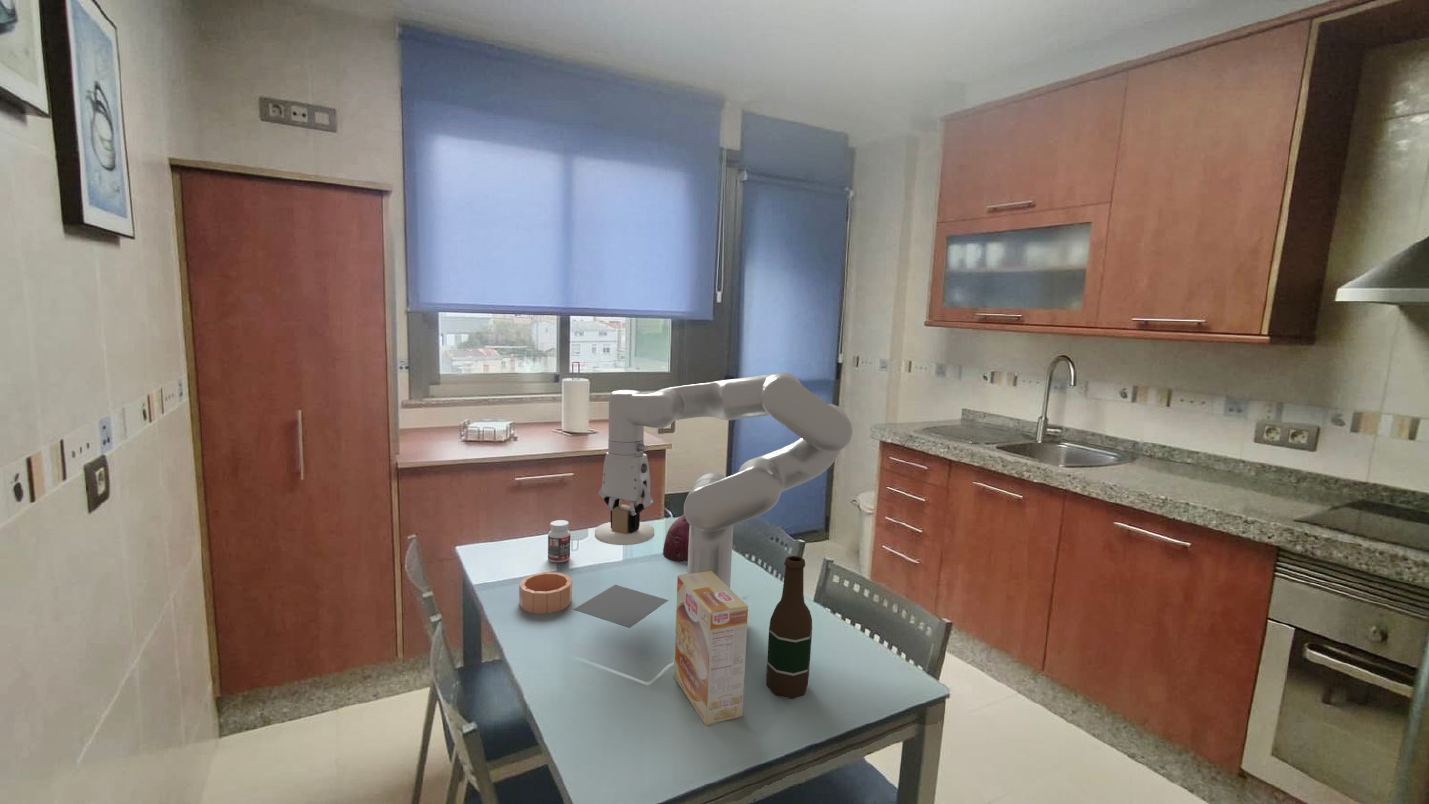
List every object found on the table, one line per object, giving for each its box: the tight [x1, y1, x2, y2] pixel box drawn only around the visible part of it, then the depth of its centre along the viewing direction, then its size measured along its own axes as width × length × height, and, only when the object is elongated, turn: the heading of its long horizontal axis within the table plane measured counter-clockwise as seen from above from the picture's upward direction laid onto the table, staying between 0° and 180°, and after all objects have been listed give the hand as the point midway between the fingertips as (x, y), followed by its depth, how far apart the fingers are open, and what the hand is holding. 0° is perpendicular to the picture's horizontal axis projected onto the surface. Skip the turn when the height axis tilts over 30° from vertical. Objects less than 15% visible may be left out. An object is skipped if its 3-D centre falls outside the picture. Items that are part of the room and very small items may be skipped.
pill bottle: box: [547, 519, 571, 564], centre depth 163 cm, size 6×6×10 cm
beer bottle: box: [765, 555, 813, 699], centre depth 109 cm, size 8×8×24 cm
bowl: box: [518, 571, 573, 615], centre depth 138 cm, size 11×11×5 cm
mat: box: [573, 584, 669, 629], centre depth 139 cm, size 15×15×1 cm
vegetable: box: [662, 513, 690, 563], centre depth 170 cm, size 10×10×15 cm
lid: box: [594, 504, 655, 546], centre depth 136 cm, size 13×13×6 cm
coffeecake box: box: [673, 571, 749, 726], centre depth 106 cm, size 15×7×20 cm, turn 24°
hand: (624, 528), depth 136 cm, fingers closed on lid, 4 cm apart
